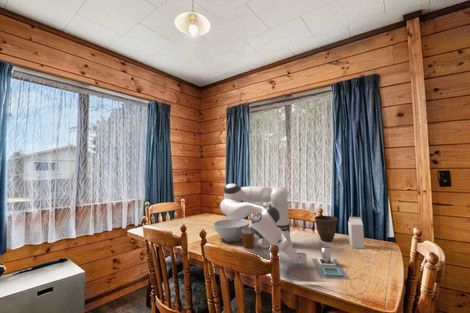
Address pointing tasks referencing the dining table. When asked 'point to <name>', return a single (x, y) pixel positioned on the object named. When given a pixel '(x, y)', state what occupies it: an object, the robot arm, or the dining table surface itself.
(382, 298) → the dining table surface
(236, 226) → the decorative bowl
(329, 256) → the grey tall round-topped piece
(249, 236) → the disposable coffee cup
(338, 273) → the grey flat plate
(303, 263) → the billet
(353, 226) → the milk carton
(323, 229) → the plant pot
